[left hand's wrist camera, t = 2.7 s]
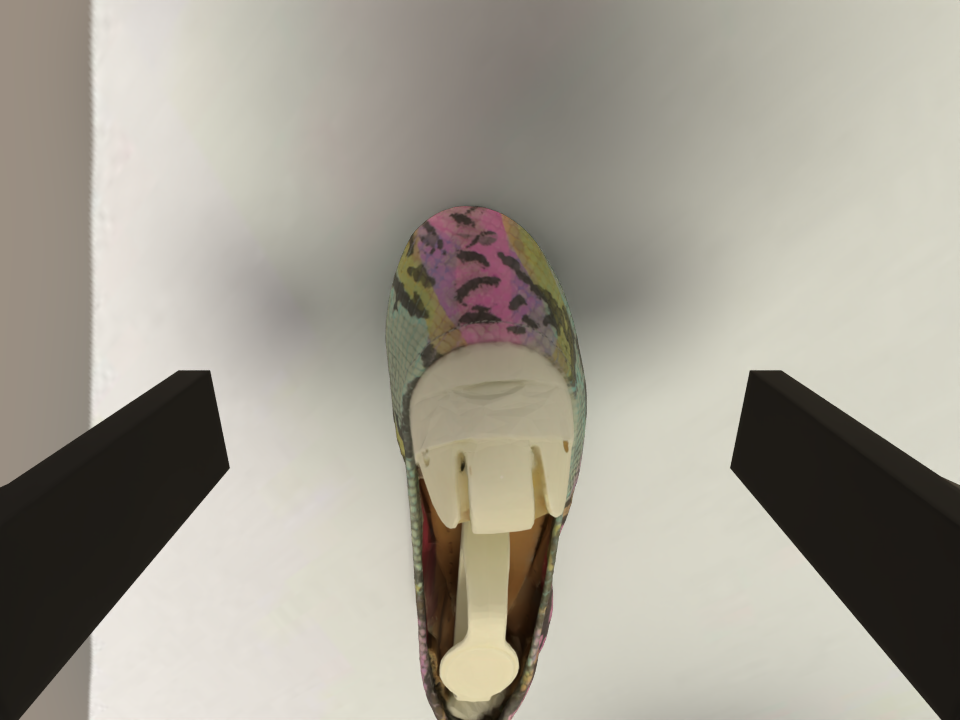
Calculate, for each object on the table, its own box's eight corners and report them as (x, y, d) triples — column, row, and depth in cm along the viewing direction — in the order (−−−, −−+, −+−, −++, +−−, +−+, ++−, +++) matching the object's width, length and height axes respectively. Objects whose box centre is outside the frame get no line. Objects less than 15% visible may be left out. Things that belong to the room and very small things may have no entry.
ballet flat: (592, 203, 21) (661, 228, 13) (558, 640, 29) (586, 819, 21) (387, 203, 21) (324, 227, 13) (414, 638, 29) (387, 817, 21)
